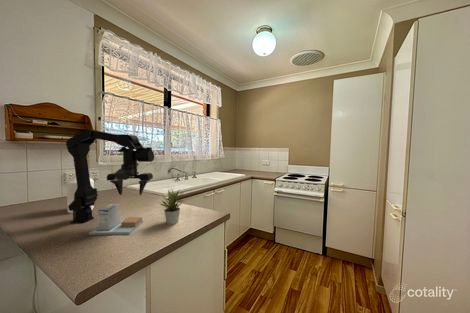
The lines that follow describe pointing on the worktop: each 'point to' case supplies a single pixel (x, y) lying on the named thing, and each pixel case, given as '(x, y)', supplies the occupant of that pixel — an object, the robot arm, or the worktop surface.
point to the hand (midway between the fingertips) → (130, 194)
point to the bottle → (74, 190)
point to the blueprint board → (120, 227)
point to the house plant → (172, 207)
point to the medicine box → (109, 216)
